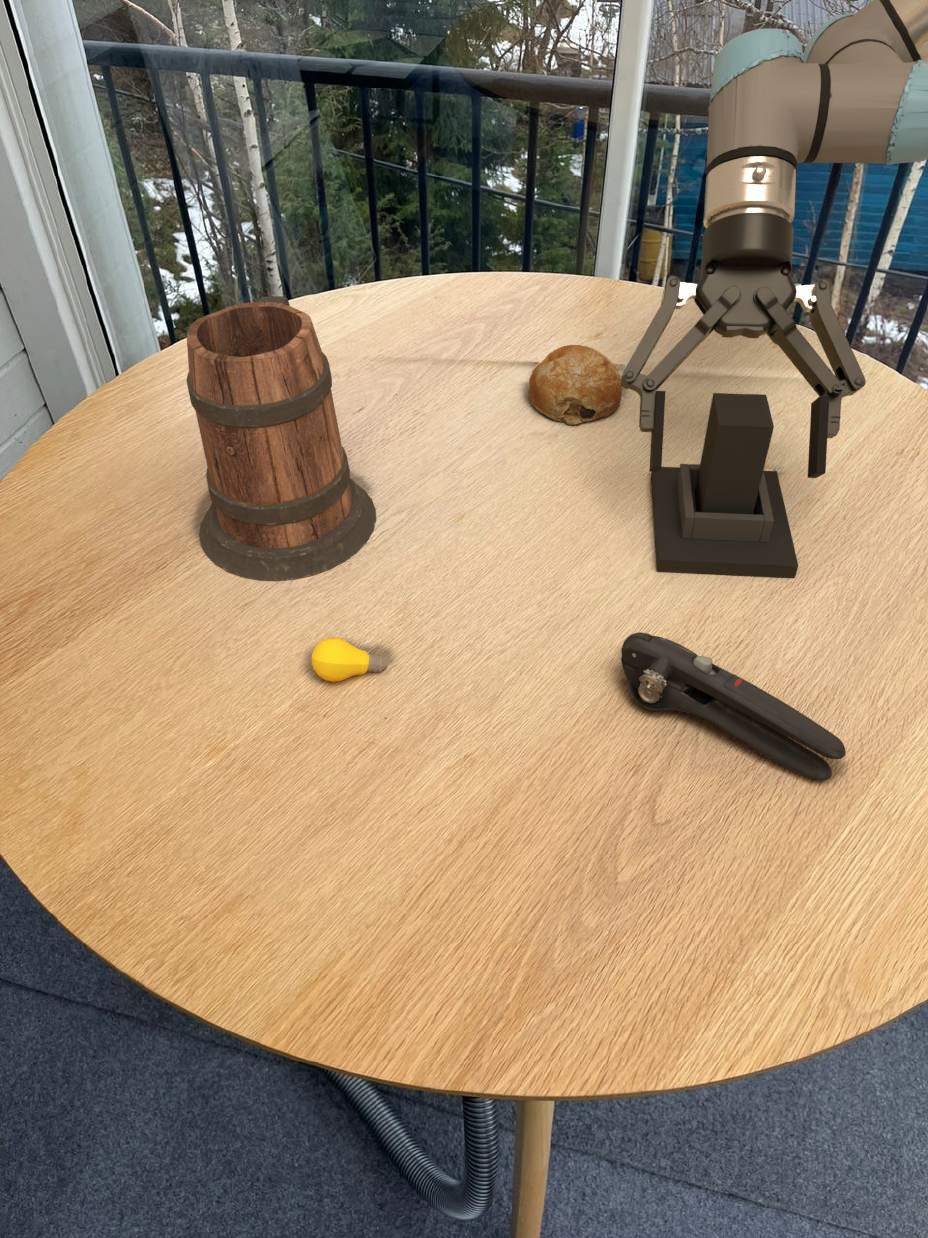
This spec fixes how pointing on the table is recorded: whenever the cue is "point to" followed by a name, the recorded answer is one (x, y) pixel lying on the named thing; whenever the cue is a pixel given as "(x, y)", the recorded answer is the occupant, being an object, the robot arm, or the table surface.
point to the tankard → (272, 445)
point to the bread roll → (575, 385)
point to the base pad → (719, 530)
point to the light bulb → (343, 660)
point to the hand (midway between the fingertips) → (735, 473)
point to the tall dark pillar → (734, 453)
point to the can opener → (726, 704)
